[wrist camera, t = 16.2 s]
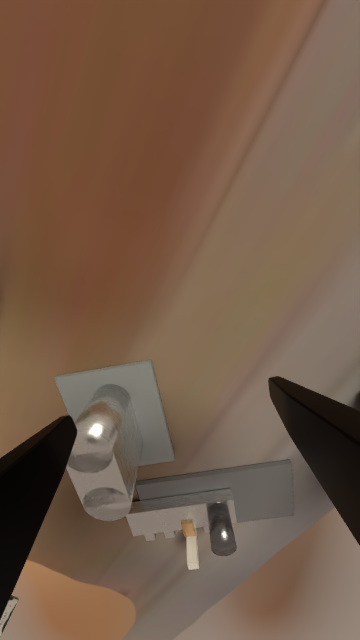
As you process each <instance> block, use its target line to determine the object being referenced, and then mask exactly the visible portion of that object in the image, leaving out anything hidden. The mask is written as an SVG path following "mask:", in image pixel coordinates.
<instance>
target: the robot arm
mask: <svg viewBox="0 0 360 640" xmlns="http://www.w3.org/2000/svg"><path fill="white" fill-rule="evenodd" d="M268 383H269V392H270V397H271V400H272V402H273V404H274V406H275V408H276V410H277V412H278V414H279V416H280V418H281V420H282V422H283V424H284V426H285V428H286V430H287V432H288V433H289V435H290V437H291V438H292V440H293V442H294V443H295V445H296V446H297V448H298V450H299V451H300V453H301V454H302V456H303V457H304V459H305V461H306V462H307V464H308V465H309V467H310V468H311V470H312V471H313V473H314V475H315V476H316V478H317V479H318V481H319V482H320V484H321V486H322V487H323V489H324V490H325V492H326V493H327V495H328V497H329V498H330V500H331V501H332V503H333V504H334V506H335V508H336V509H337V511H338V512H339V514H340V515H341V517H342V519H343V520H344V522H345V523H346V525H347V526H348V528H349V530H350V531H351V533H352V534H353V536H354V537H355V539H356V540H357V542H358V543H359V545H360V411H359V410H356V409H354V408H352V407H349V406H347V405H345V404H342V403H340V402H338V401H335V400H333V399H331V398H328V397H326V396H324V395H321V394H319V393H317V392H314V391H312V390H310V389H307V388H305V387H303V386H300V385H298V384H296V383H293V382H291V381H289V380H286V379H284V378H282V377H279V376H276V377H271V378H269V380H268ZM76 437H77V428H76V425H75V423H74V421H73V419H72V417H71V416H70V415H67V416H62V417H59V418H58V419H56V420H55V421H54V422H52V423H51V424H49V425H48V426H46V427H45V428H43V429H42V430H41V431H39V432H38V433H36V434H35V435H33V436H32V437H30V438H29V439H27V440H26V441H25V442H23V443H22V444H20V445H19V446H17V447H16V448H14V449H13V450H12V451H10V452H9V453H7V454H6V455H4V456H3V457H1V458H0V620H1V618H2V615H3V613H4V611H5V608H6V606H7V604H8V601H9V599H10V597H11V594H12V592H13V590H14V588H15V585H16V583H17V581H18V578H19V576H20V574H21V571H22V569H23V567H24V564H25V562H26V560H27V558H28V555H29V553H30V551H31V548H32V546H33V544H34V541H35V539H36V537H37V534H38V532H39V530H40V527H41V525H42V523H43V521H44V518H45V516H46V514H47V511H48V509H49V507H50V504H51V502H52V500H53V497H54V495H55V493H56V490H57V488H58V486H59V484H60V481H61V479H62V477H63V474H64V472H65V469H66V466H67V463H68V460H69V457H70V454H71V451H72V448H73V445H74V443H75V440H76Z"/></svg>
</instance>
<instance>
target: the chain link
mask: <svg viewBox="0 0 360 640" xmlns="http://www.w3.org/2000/svg"><path fill="white" fill-rule="evenodd" d="M75 425H76V428H77V437H76V440H75V443H74V445H73V448H72V451H71V454H70V457H69V460H68V463H67V466H66V469H67V471H68V473H69V476H70V478H71V480H72V482H73V485H74V487H75V489H76V491H77V494H78V496H79V498H80V500H81V503H82V505H83V507H84V509H85V511H86V512H87V513H88V514H89V515H90V516H92V517H94V518H96V519H99V520H103V521H115V520H119V519H121V518H123V517H125V516H126V515H127V514H128V513H129V511H130V508H131V504H132V498H133V493H134V488H135V483H136V478H137V473H138V468H139V463H140V458H141V453H142V448H143V438H142V435H141V432H140V428H139V425H138V421H137V418H136V414H135V411H134V407H133V404H132V400H131V397H130V395H129V393H128V392H127V391H126V390H125V389H124V388H123V387H121V386H118V385H115V384H106V385H103V386H101V387H99V388H98V389H97V390H96V391H95V393H94V394H93V396H92V397H91V399H90V400H89V402H88V403H87V405H86V406H85V408H84V410H83V411H82V413H81V414H80V416H79V417H78V419H77V420H76V422H75Z"/></svg>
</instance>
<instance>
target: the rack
mask: <svg viewBox="0 0 360 640" xmlns="http://www.w3.org/2000/svg"><path fill="white" fill-rule="evenodd" d="M126 518H127V520H128V523H129V526H130V528H131V531H132V534H133V536H139V535H145V538H146V541H150V540H156V533H162V532H164V534H165V537H166V538H173V537H175V531H177V530H183V534H184V537H189V536H195V529H194V528H200V527H204V531H205V533H210V540H211V549H212V552H213V553H214V554H216V555H219V556H227V555H230V554H232V553H234V552H235V551H236V548H237V547H236V542H235V537H234V532H233V530H235V529H234V523H237V521H236V514H235V507H234V501H233V496H232V492H231V488H230V489H223V490H216V491H209V492H202V493H194V494H187V495H180V496H173V497H166V498H159V499H151V500H144V501H137V502H132V504H131V508H130V511H129V513H128V514H127V515H126Z"/></svg>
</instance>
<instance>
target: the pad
mask: <svg viewBox="0 0 360 640" xmlns="http://www.w3.org/2000/svg"><path fill="white" fill-rule="evenodd" d="M54 379H55V381H56V384H57V386H58V389H59V391H60V394H61V396H62V399H63V401H64V404H65V406H66V409H67V411H68V414H69V415H70V416H71V417H72V419H73V421H74V423H75V422H76V420H77V419H78V417H79V416H80V414H81V413H82V411H83V410H84V408H85V406H86V405H87V403H88V402H89V400H90V399H91V397H92V396H93V394H94V393H95V391H96V390H97V389H98V388H99V387H101V386H103V385H106V384H115V385H118V386H121V387H123V388H124V389H125V390H126V391H127V392H128V393H129V395H130V397H131V400H132V404H133V407H134V411H135V414H136V418H137V421H138V425H139V428H140V432H141V435H142V438H143V448H142V453H141V458H140V463H139V466H144V465H150V464H157V463H164V462H171V461H175V455H174V450H173V446H172V442H171V438H170V434H169V430H168V426H167V422H166V418H165V414H164V410H163V406H162V401H161V397H160V393H159V389H158V385H157V381H156V377H155V373H154V369H153V365H152V361H151V360H147V361H142V362H136V363H130V364H124V365H118V366H112V367H106V368H100V369H94V370H88V371H83V372H77V373H71V374H65V375H59V376H56V377H55V378H54Z"/></svg>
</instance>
